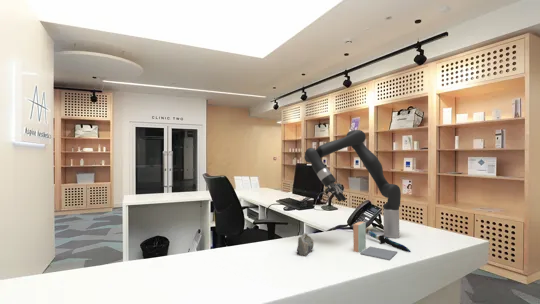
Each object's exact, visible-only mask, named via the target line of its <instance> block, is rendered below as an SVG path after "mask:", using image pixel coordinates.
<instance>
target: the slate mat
mask: <svg viewBox="0 0 540 304" xmlns="http://www.w3.org/2000/svg"><path fill="white" fill-rule="evenodd" d="M359 253H360V255H363V256H365V257H366V256H367V257H371V258H376V259H381V260H386V261H390V260H392V259H393V258H394V256H396V255H397V253H398V251H396V250H391V249H385V248H379V247H376V246H369V247H368V248H367V247H366V248H365V249H364V250H362V251H361V252H359Z"/></svg>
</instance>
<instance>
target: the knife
mask: <svg viewBox="0 0 540 304" xmlns="http://www.w3.org/2000/svg"><path fill="white" fill-rule="evenodd" d="M366 233H367V235H368V236H369V237H371V238H374V239H376V240H378V241H379V243H380V245H382V244H383V245H384V244H387V245H389V246H391V247H393V248H396V249H397V250H401V251H404V252H406V253H407V252H408V253H412V251H411V249H409V248H408V247H406V246H405V244H402V243H399V242H396V241H393V240H392V239H391V238H390V239H389V237H385V236H384V234H382V235H379V234H377V233H375V232H373V231H371V230H369V229H366Z"/></svg>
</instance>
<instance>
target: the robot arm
mask: <svg viewBox="0 0 540 304" xmlns="http://www.w3.org/2000/svg"><path fill="white" fill-rule="evenodd" d="M366 138H367V137H366V133H365V131H362V130H360V129H354V130H350V131H348V132H347V133H346V136H345V137H341V138H338V139H335V140H331V141H328V142H326V143H324V144H321V145H319V146H318V147H317V148H316V149H315V148H313V147H309V148H307V149H305V151H304V158H303V159H304V160H305V162H307V163H310V164H311V167H312V169H313V171H314V173H315V174H316V176H317V177H318V179H319V180H320V181H321V183H322V184H323V186H324V187H325V188H327V189H328V190H329V192H330V193H331V195H332V196H334V197H335V198H336V200H337V201H338V202H339V203H340V202H345V201H346V200H347V198H346V196H345V195H344V192H343V190H342V189H341V188H340V187H339V185H338V184H336V182H337V178H336V177H335V176H334V175H333V174H332V172H331V171H330V170H329V168H328V167H327V166H326V165H325V163H324V162H323V161H322V158H323V157H326V156H328V155H330V154H333V153H336V152H338V151H340V150H343V149H346V148H349V147H351V148H352V149H353V150H354V151H355V153H356V154H357V156H358V158H359V160H360V161H361V163H362V164H363V166H364V167H365V169H366V170H367V172H368V173H369V175H370V176H371V178H372V179H373V181H374V183H375V184H376V186H377V189H378V191H379V192H380V194H381V195H382V196H383V197H384V198H387V202H386V203H384V204H383V207H382V208H383V209H382V210H383V212H382V213H383V217H382V218H383V235H384V238H385V237H387V238H388V239H389V238H390V239H398V238H400V206H401V197H402V195H401V194H402V193H401V188H400V186H399V185H398V184H393V183H389V182H388V180H387V179H386V178H385V176H384V170H383V169H384V168H383V164H382V163H381V162H380V160H379V158H378V157H377V155H376V154H374V153H373V152H372V151H371V150H370V149H369V148H368V147H367V146H366V145H365V144H364V142H365V141H366Z"/></svg>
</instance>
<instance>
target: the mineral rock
mask: <svg viewBox="0 0 540 304" xmlns="http://www.w3.org/2000/svg"><path fill="white" fill-rule="evenodd" d="M313 249H314V240H313V238H311V236H310V235H308V234H307V233H305V232H304V233H303V234H302V235H301V236H299V237H298V239H297V247H296V255H299V256H307V255H308V254H309V253H310V251H312V250H313Z"/></svg>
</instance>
